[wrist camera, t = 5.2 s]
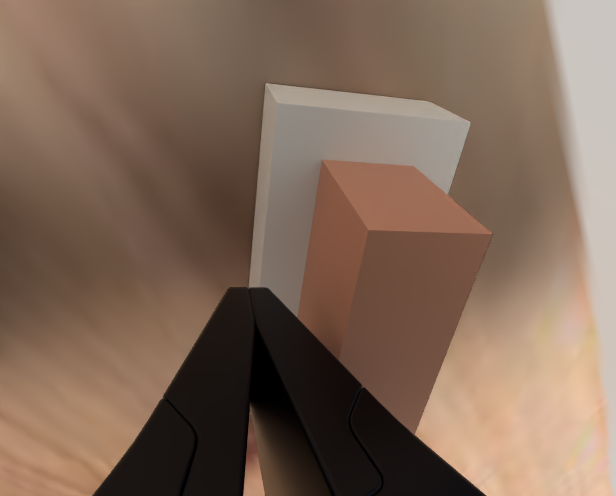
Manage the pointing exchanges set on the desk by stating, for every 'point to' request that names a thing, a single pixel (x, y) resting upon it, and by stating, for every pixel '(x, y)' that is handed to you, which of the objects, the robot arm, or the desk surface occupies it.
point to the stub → (367, 233)
